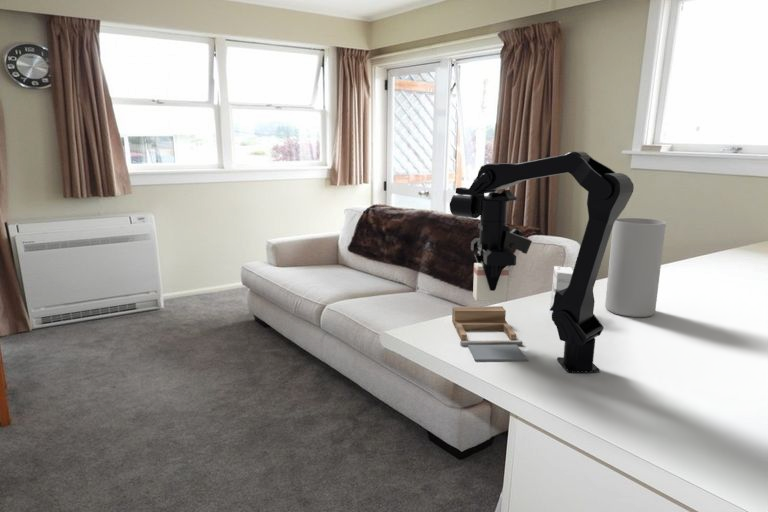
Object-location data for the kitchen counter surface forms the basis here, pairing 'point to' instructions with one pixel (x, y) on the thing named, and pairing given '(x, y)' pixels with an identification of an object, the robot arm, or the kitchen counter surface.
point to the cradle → (482, 323)
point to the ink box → (560, 280)
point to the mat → (496, 353)
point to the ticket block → (482, 288)
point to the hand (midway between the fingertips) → (490, 287)
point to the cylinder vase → (634, 266)
